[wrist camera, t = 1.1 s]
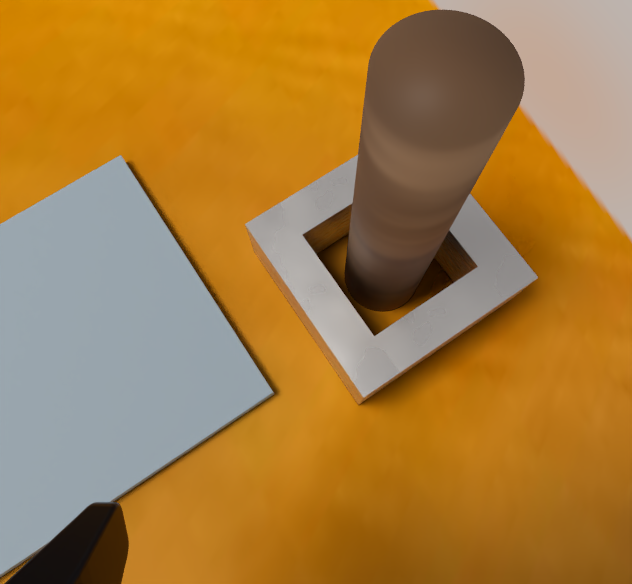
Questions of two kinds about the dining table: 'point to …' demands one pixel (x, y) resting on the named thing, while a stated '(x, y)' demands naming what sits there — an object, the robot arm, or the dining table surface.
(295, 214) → the collar
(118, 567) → the robot arm
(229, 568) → the dining table surface
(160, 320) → the rubber mat
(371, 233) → the walnut rod
